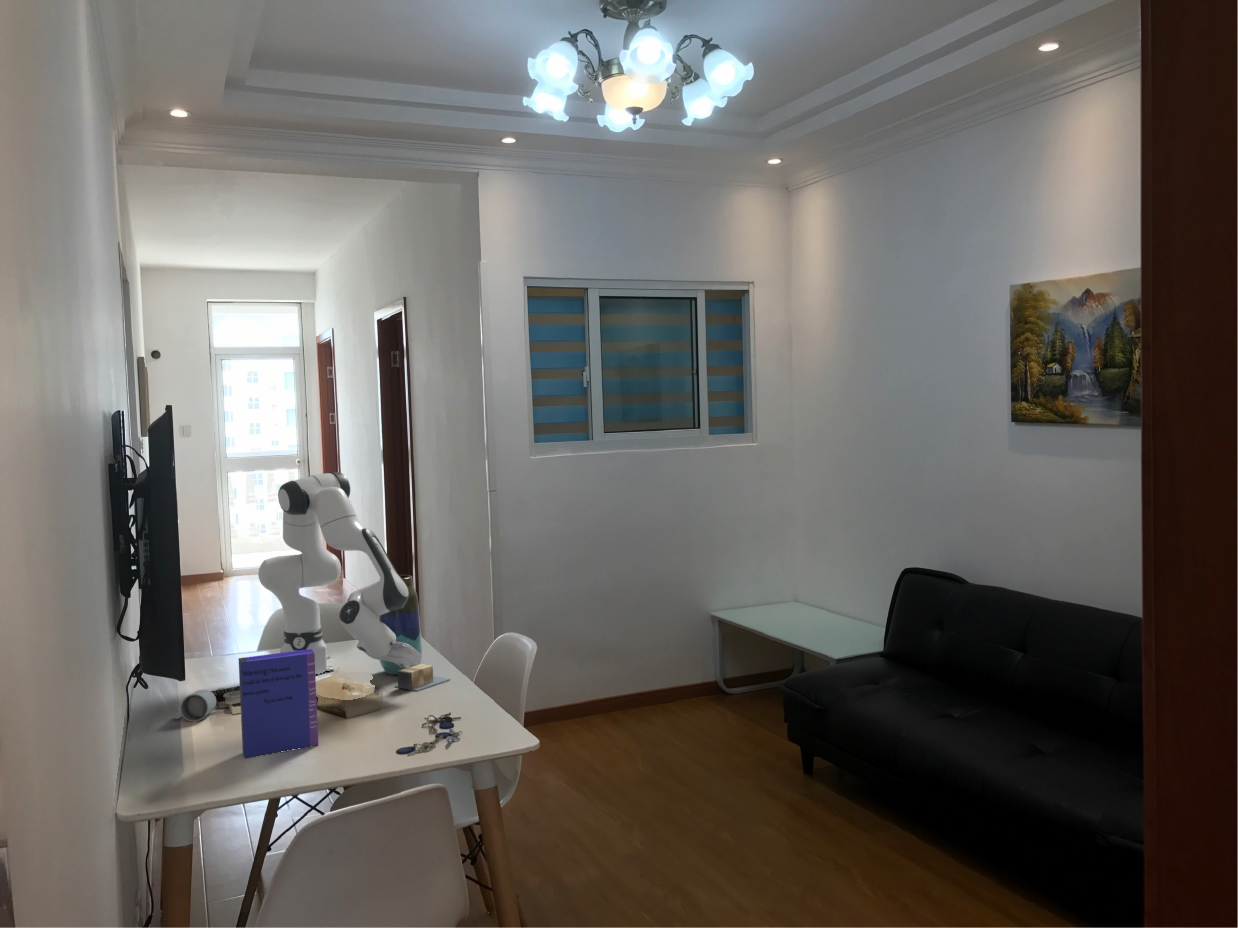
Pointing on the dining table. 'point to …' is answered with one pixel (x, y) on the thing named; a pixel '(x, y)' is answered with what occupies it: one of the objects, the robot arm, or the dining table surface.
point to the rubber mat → (435, 681)
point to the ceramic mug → (197, 706)
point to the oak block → (415, 676)
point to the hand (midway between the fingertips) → (406, 666)
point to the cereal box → (278, 702)
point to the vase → (404, 625)
